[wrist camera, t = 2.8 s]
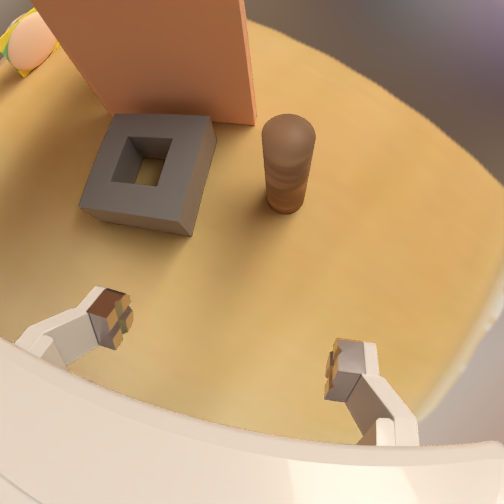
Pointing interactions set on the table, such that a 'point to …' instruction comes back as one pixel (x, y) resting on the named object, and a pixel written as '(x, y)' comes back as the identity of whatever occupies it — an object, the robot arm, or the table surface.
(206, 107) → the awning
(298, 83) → the table surface
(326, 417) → the table surface
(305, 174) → the peg
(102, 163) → the socket
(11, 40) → the hamburger
